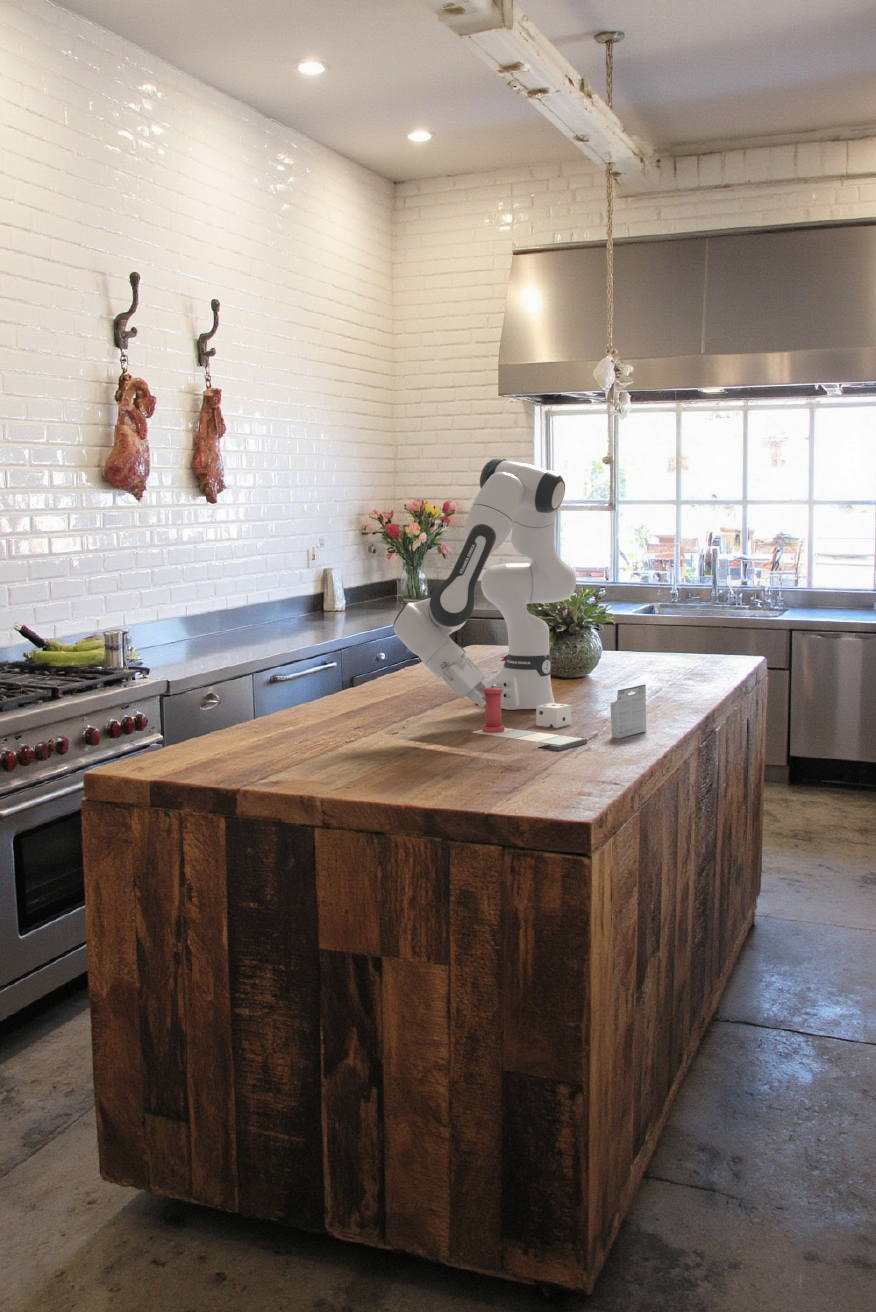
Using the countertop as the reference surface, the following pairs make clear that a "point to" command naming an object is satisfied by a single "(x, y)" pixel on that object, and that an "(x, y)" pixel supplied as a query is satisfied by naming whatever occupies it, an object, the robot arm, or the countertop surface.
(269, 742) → the countertop surface
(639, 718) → the ink box
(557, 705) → the die
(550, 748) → the game board
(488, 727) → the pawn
